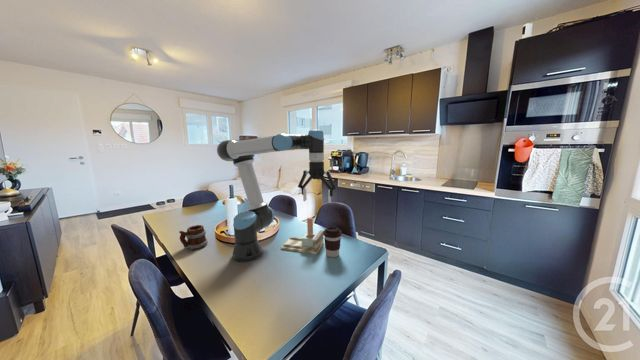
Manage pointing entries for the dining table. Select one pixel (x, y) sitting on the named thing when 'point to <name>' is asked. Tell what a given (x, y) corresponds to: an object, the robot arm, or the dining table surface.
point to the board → (296, 245)
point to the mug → (194, 237)
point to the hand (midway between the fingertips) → (317, 201)
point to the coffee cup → (332, 241)
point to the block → (308, 240)
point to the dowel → (310, 227)
